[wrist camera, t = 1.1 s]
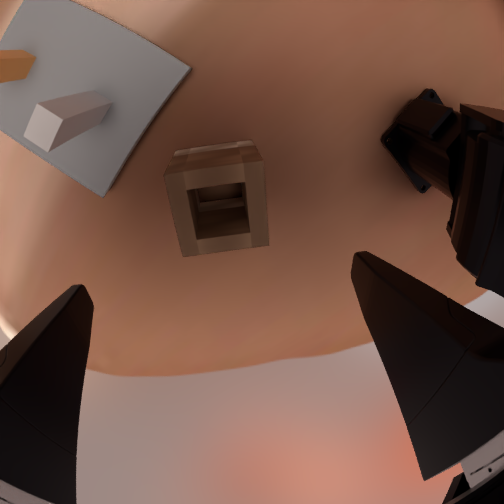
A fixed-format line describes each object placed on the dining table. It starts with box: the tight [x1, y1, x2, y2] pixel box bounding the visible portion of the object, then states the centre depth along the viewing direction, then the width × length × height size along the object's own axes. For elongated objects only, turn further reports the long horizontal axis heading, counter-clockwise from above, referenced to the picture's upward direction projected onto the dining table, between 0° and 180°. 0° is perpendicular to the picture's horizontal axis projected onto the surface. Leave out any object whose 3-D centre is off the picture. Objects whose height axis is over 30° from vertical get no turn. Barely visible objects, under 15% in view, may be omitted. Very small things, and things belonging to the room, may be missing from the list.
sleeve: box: [164, 140, 269, 257], centre depth 18 cm, size 5×5×5 cm
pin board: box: [0, 0, 192, 198], centre depth 11 cm, size 14×10×8 cm
